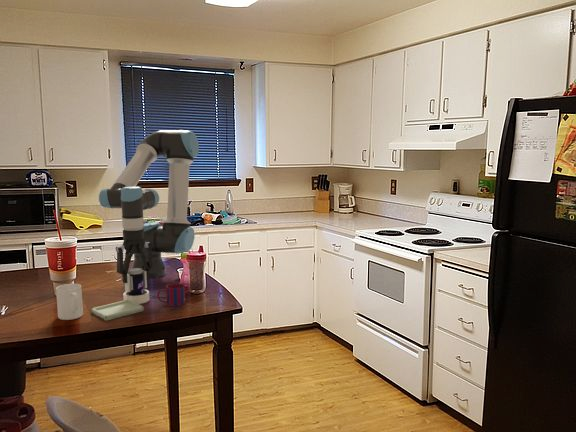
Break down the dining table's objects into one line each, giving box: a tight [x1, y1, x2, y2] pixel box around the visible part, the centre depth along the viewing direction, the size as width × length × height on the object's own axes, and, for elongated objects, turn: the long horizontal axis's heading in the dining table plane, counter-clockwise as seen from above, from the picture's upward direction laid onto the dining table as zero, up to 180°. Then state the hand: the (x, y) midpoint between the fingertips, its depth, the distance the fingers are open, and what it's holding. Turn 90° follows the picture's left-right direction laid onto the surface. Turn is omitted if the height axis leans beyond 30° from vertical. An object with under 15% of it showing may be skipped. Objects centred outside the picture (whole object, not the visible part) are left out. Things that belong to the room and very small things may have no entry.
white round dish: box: [122, 288, 150, 305], centre depth 192 cm, size 9×9×3 cm
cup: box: [157, 282, 186, 307], centre depth 187 cm, size 7×10×7 cm
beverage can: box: [128, 267, 145, 296], centre depth 191 cm, size 6×6×12 cm
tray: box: [91, 300, 145, 321], centre depth 179 cm, size 14×11×2 cm
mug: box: [55, 283, 84, 321], centre depth 173 cm, size 12×8×10 cm, turn 39°
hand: (136, 289), depth 191 cm, fingers open, 6 cm apart
